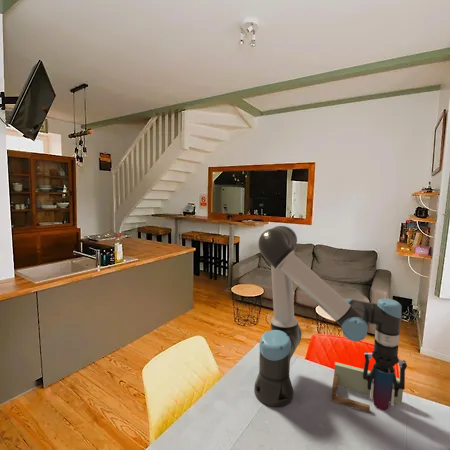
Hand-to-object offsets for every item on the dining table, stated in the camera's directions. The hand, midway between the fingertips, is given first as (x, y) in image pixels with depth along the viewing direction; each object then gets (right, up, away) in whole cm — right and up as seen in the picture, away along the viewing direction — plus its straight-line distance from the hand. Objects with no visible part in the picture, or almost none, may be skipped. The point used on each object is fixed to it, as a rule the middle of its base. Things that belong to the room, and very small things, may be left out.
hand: (381, 400), depth 105 cm
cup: (0, -2, 0) cm, 2 cm away
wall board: (-2, -1, +7) cm, 7 cm away
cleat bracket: (-10, -2, +4) cm, 11 cm away
